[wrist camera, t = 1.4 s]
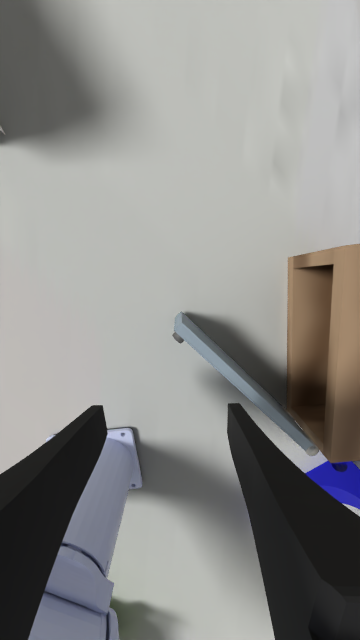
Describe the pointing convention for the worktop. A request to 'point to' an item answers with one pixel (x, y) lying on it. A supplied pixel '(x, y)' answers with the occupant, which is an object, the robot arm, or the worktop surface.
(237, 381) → the door
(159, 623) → the worktop surface
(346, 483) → the cable clip
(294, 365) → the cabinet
